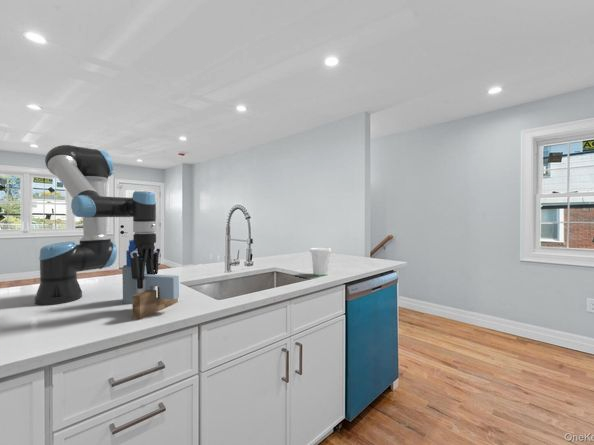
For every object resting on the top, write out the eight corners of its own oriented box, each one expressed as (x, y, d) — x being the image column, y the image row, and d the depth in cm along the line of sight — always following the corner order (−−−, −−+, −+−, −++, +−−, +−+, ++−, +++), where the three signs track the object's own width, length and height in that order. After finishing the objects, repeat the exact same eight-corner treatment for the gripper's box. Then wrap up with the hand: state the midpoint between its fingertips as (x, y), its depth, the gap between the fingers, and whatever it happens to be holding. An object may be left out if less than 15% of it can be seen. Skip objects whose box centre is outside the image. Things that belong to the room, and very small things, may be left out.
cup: (332, 276, 166) (332, 250, 166) (310, 276, 166) (310, 249, 166) (329, 272, 179) (330, 247, 178) (309, 272, 179) (309, 247, 178)
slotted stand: (132, 318, 99) (132, 295, 99) (171, 301, 118) (171, 282, 118) (140, 319, 98) (139, 296, 98) (177, 302, 118) (177, 282, 117)
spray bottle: (138, 296, 126) (137, 238, 125) (152, 298, 122) (151, 239, 121) (117, 301, 118) (116, 240, 117) (132, 304, 114) (131, 241, 113)
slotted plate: (136, 296, 109) (135, 275, 108) (142, 294, 111) (141, 273, 111) (173, 299, 105) (173, 277, 104) (179, 297, 108) (178, 275, 107)
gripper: (136, 234, 100) (137, 302, 101) (167, 231, 116) (168, 290, 116) (118, 234, 102) (119, 301, 102) (151, 231, 117) (152, 289, 118)
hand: (145, 295), depth 109 cm, fingers closed on slotted plate, 3 cm apart
